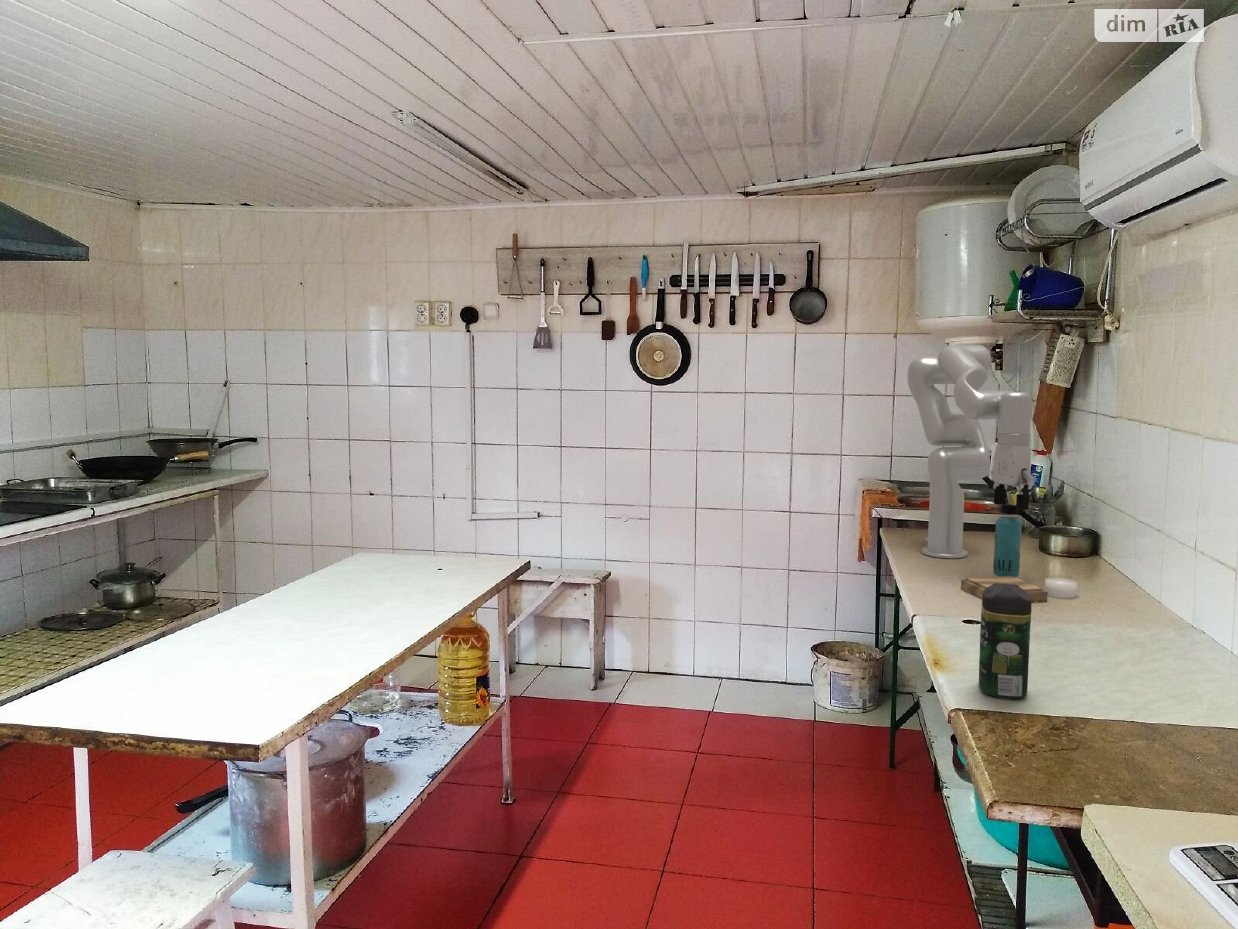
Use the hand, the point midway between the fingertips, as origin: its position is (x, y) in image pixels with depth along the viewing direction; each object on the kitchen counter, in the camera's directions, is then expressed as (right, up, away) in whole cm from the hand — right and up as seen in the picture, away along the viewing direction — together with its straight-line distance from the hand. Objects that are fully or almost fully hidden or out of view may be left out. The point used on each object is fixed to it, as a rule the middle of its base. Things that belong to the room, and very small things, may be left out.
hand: (1010, 507), depth 227 cm
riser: (-7, -21, -11) cm, 25 cm away
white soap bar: (+7, -21, -11) cm, 25 cm away
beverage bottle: (0, -19, +3) cm, 20 cm away
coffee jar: (-34, -29, -73) cm, 85 cm away
